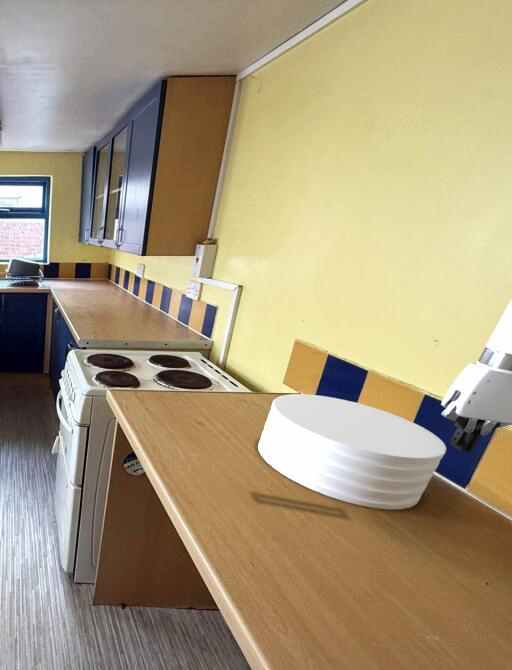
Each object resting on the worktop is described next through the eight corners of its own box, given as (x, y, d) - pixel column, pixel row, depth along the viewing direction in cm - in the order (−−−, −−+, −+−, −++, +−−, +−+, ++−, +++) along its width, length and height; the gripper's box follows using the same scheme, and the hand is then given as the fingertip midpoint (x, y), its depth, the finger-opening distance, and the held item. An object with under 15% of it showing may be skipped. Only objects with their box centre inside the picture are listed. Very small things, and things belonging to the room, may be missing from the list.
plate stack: (434, 481, 85) (460, 433, 81) (396, 530, 70) (426, 475, 66) (288, 426, 106) (302, 386, 102) (235, 454, 91) (249, 409, 87)
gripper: (541, 361, 75) (489, 445, 82) (445, 350, 78) (403, 432, 86) (583, 375, 68) (523, 465, 76) (476, 362, 72) (428, 450, 79)
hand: (459, 447), depth 81 cm, fingers closed
